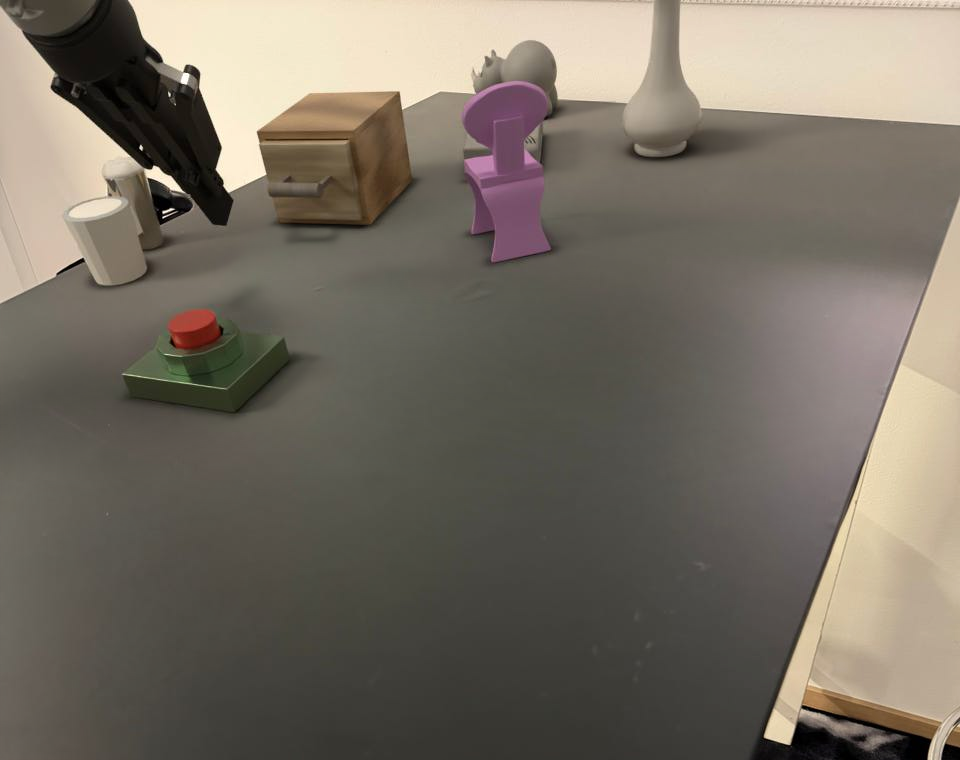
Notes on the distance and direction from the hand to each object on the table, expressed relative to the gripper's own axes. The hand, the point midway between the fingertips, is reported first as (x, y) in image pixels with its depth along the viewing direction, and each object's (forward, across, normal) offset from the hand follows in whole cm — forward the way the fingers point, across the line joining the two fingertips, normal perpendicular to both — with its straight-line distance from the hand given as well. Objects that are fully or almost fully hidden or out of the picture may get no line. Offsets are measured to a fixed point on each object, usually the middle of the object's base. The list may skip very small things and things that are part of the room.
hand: (223, 212), depth 83 cm
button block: (-3, +6, -18) cm, 19 cm away
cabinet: (+20, +2, +16) cm, 25 cm away
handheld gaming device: (+27, +17, +28) cm, 43 cm away
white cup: (+9, -16, -3) cm, 19 cm away
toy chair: (+13, +25, +8) cm, 29 cm away
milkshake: (+13, -17, +4) cm, 22 cm away
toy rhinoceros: (+37, +13, +42) cm, 58 cm away
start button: (-6, +6, -16) cm, 18 cm away
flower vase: (+28, +35, +31) cm, 54 cm away
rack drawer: (+17, +1, +13) cm, 21 cm away
